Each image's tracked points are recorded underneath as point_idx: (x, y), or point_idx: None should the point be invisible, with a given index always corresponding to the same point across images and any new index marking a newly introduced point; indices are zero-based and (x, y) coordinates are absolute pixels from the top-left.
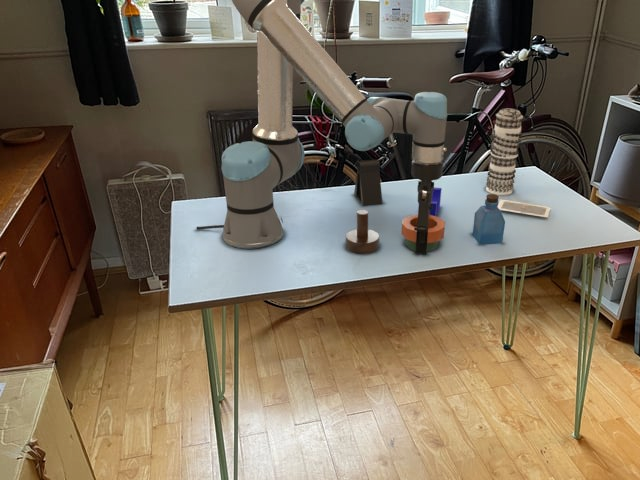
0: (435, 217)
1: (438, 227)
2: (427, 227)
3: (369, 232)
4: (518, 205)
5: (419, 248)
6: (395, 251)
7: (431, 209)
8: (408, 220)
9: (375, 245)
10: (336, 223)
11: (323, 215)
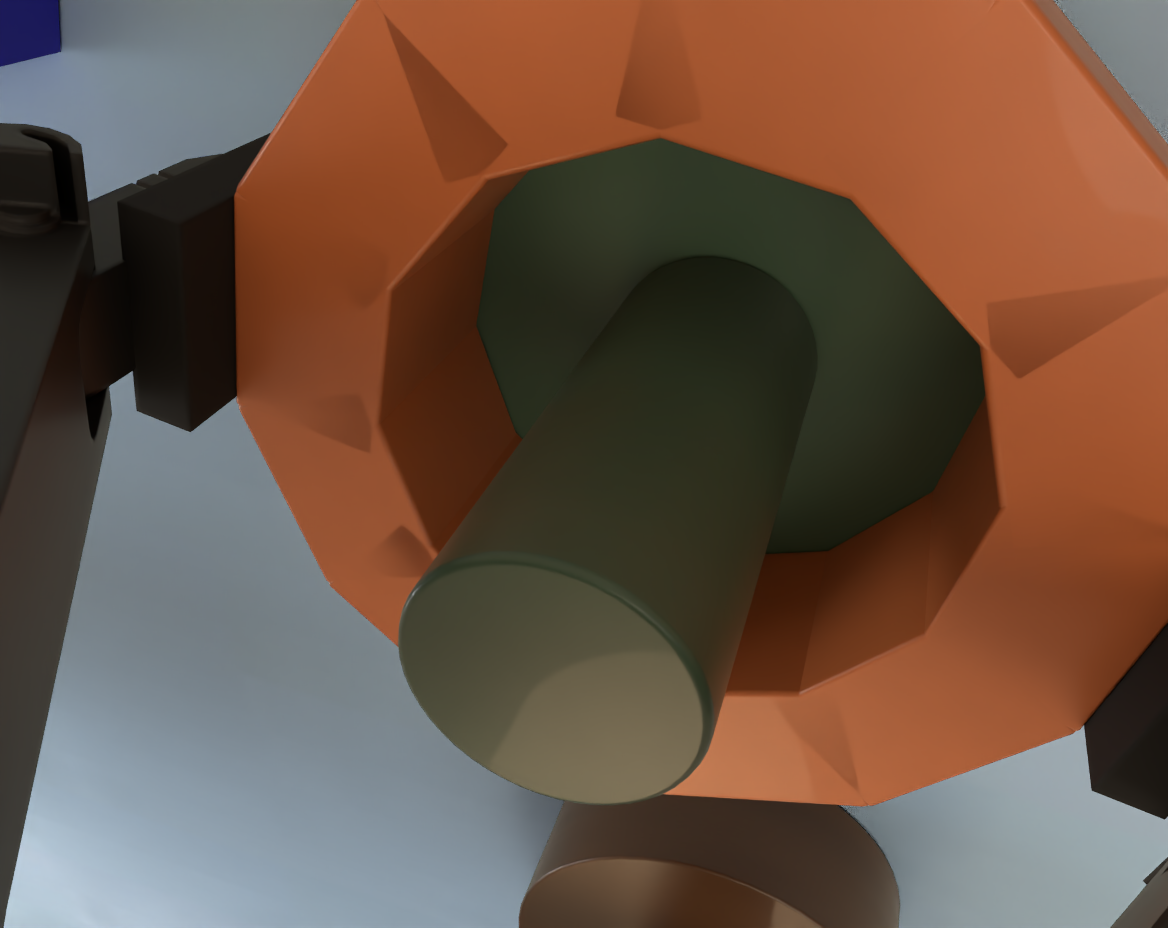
0: (367, 104)
1: (1004, 192)
2: (768, 371)
3: (614, 908)
4: None
5: None
6: None
7: (84, 176)
8: None
9: (851, 886)
10: (272, 859)
11: (157, 876)
